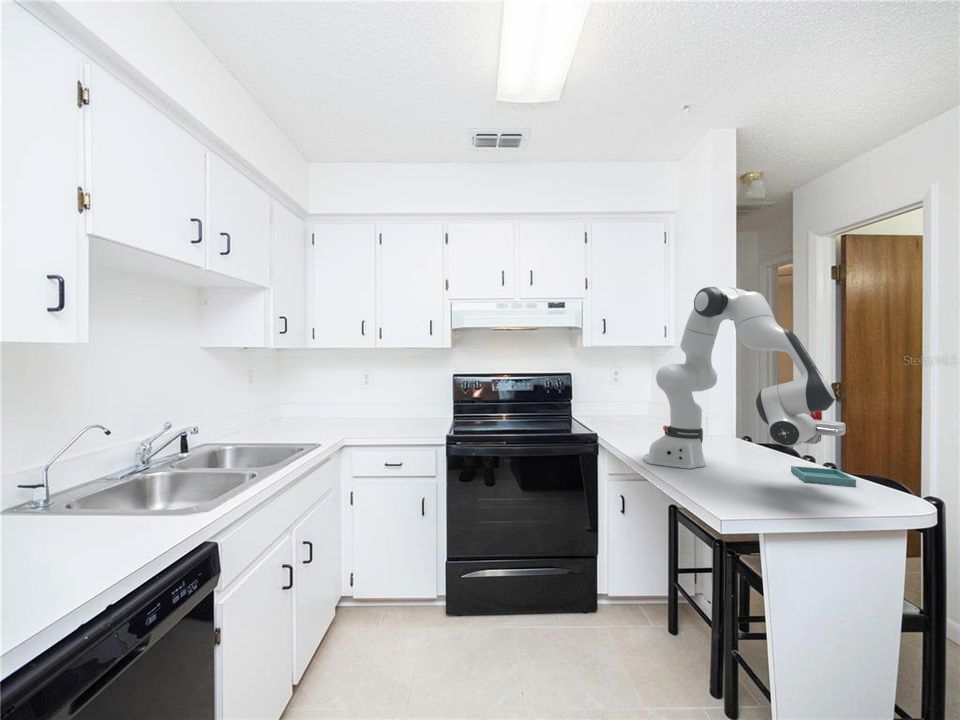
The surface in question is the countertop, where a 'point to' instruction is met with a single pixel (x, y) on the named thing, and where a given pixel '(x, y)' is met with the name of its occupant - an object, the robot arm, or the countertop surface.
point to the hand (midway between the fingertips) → (808, 422)
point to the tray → (823, 476)
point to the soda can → (817, 437)
